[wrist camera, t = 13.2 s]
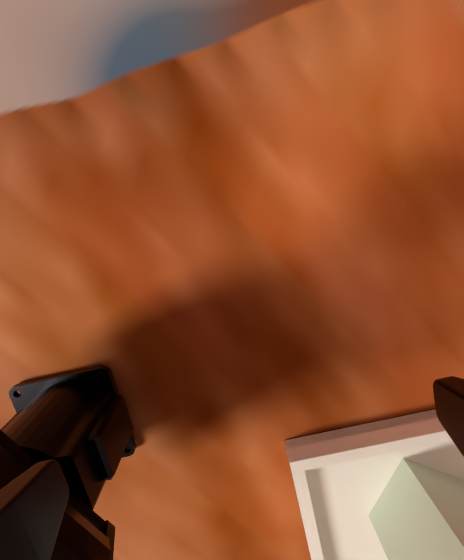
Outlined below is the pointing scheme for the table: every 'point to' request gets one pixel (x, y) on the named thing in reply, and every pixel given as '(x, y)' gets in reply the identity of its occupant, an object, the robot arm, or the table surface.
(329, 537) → the tray
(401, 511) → the sage block
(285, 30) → the table surface
